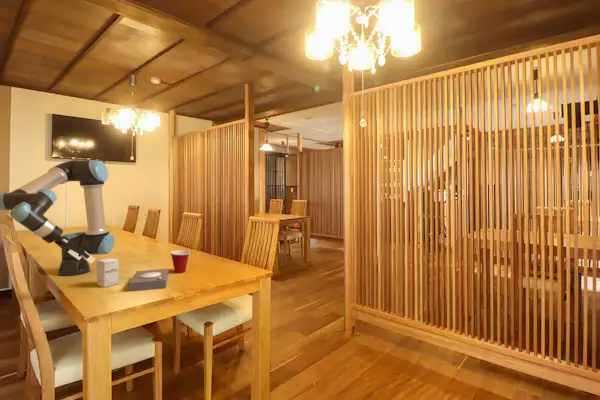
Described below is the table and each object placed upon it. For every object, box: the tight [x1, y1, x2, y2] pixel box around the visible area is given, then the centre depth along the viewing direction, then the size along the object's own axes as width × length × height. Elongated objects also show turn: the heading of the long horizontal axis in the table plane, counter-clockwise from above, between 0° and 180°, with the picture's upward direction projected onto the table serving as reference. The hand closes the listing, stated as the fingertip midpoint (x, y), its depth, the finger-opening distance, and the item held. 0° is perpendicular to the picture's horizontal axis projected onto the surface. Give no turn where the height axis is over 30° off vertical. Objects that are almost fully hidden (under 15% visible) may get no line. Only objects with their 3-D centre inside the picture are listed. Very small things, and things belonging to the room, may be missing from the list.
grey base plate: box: [128, 268, 170, 292], centre depth 166 cm, size 24×16×5 cm, turn 19°
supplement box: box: [96, 257, 120, 288], centre depth 163 cm, size 7×7×13 cm
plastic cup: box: [169, 250, 191, 274], centre depth 188 cm, size 11×11×12 cm
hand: (87, 259), depth 155 cm, fingers open, 13 cm apart
